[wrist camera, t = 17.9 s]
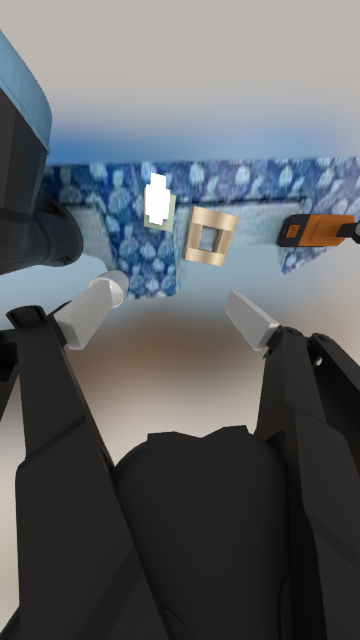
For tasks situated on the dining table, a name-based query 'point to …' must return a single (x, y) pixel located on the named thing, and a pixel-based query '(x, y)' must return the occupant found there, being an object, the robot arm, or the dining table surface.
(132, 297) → the dining table surface
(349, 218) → the power drill
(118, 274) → the white cup
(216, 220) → the socket block
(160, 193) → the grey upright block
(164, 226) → the mat
